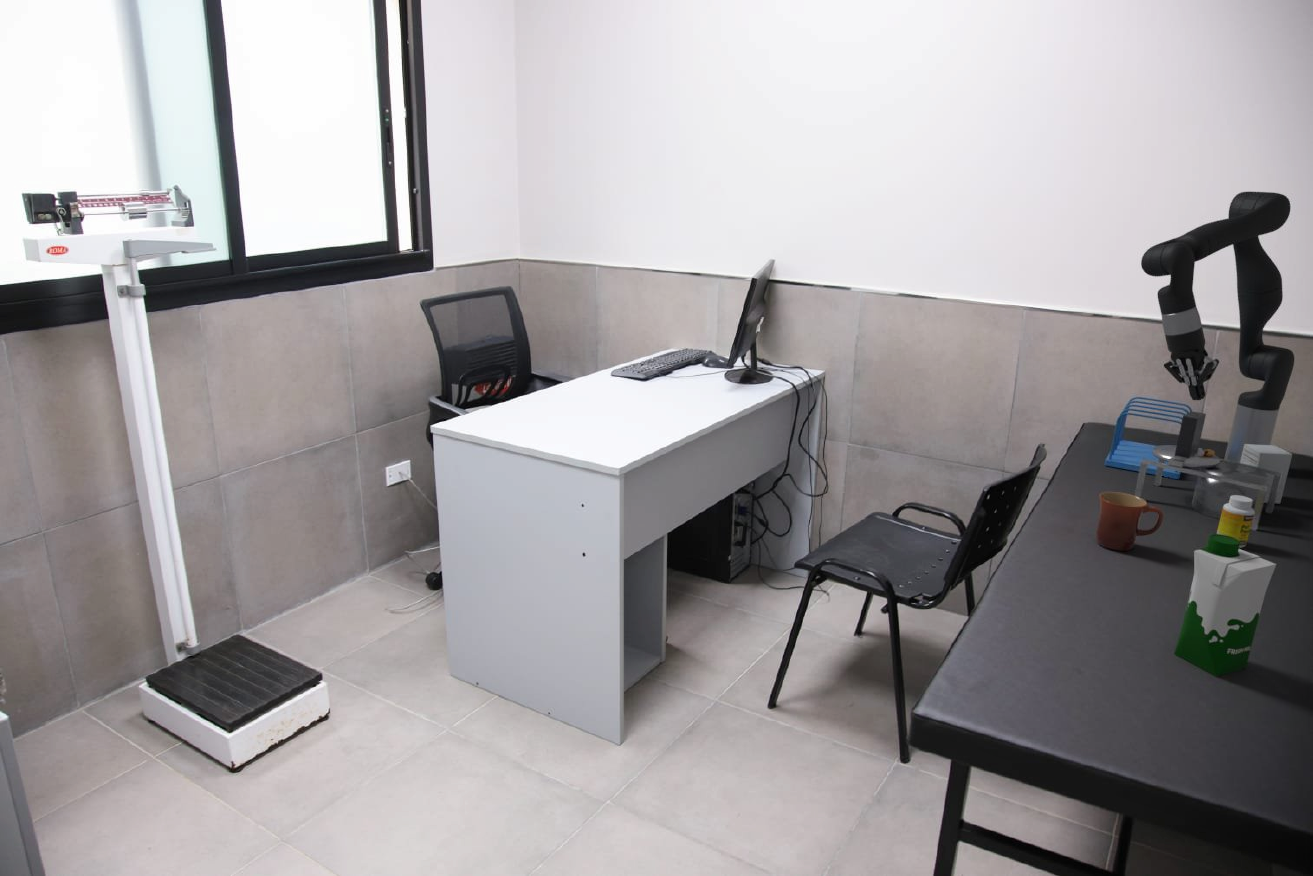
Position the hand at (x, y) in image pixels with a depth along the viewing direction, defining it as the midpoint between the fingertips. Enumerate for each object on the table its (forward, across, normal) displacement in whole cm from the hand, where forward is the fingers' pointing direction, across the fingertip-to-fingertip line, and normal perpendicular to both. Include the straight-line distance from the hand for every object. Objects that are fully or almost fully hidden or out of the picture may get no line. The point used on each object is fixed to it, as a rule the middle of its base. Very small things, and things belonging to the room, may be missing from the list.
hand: (1198, 399), depth 204 cm
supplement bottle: (+24, -19, +22) cm, 38 cm away
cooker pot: (+24, -1, +7) cm, 25 cm away
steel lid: (+13, +1, +6) cm, 14 cm away
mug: (+16, -14, +45) cm, 50 cm away
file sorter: (+22, +28, -10) cm, 38 cm away
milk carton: (+17, -53, +70) cm, 89 cm away
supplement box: (+30, 0, -10) cm, 31 cm away
